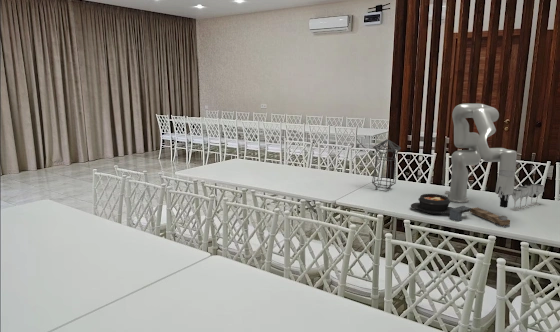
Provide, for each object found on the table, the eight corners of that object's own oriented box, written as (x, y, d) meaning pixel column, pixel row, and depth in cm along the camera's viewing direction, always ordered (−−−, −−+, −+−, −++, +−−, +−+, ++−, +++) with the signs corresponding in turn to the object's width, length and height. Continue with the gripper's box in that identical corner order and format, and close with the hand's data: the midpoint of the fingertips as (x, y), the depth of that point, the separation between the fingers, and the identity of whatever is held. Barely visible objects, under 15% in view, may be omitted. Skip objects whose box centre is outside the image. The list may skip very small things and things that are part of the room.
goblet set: (516, 211, 227) (519, 189, 224) (506, 209, 232) (509, 187, 229) (543, 204, 240) (546, 183, 237) (534, 202, 245) (536, 181, 242)
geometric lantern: (376, 185, 285) (380, 137, 278) (398, 189, 276) (403, 139, 269) (368, 189, 273) (372, 139, 266) (390, 193, 264) (394, 141, 257)
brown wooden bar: (509, 224, 203) (510, 217, 202) (501, 225, 201) (502, 218, 201) (477, 211, 224) (477, 205, 223) (469, 212, 223) (470, 205, 222)
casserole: (407, 212, 225) (408, 197, 224) (414, 203, 241) (415, 190, 239) (454, 219, 213) (456, 204, 211) (458, 210, 229) (460, 196, 227)
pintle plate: (491, 224, 205) (491, 223, 205) (499, 221, 209) (499, 221, 209) (505, 228, 200) (505, 227, 199) (512, 225, 203) (512, 225, 203)
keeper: (449, 218, 214) (450, 209, 212) (462, 215, 220) (463, 205, 219) (457, 221, 209) (458, 211, 208) (470, 217, 216) (471, 208, 214)
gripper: (507, 170, 216) (504, 203, 220) (491, 173, 209) (488, 207, 212) (521, 172, 210) (518, 206, 213) (506, 175, 202) (503, 210, 205)
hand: (503, 206), depth 212 cm, fingers closed
